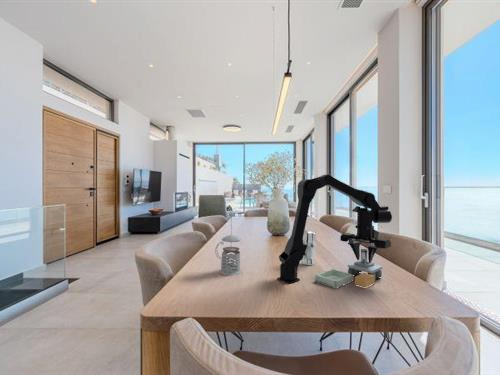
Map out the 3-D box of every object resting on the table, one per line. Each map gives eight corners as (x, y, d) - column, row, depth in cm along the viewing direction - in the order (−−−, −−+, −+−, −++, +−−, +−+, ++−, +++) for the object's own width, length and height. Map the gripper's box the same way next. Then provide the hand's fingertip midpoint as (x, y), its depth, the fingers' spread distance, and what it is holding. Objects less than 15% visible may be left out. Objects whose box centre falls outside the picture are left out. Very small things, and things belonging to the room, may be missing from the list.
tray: (336, 288, 97) (336, 281, 97) (315, 281, 104) (315, 274, 103) (353, 281, 104) (353, 274, 104) (332, 274, 111) (333, 268, 111)
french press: (239, 276, 109) (239, 214, 108) (211, 273, 111) (212, 213, 111) (244, 268, 118) (245, 212, 118) (219, 266, 120) (219, 211, 120)
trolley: (371, 283, 102) (371, 268, 102) (347, 276, 110) (347, 262, 110) (382, 277, 108) (382, 264, 108) (358, 271, 116) (358, 258, 116)
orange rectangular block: (365, 289, 97) (365, 279, 97) (354, 286, 100) (355, 276, 100) (374, 284, 101) (374, 275, 101) (364, 281, 104) (364, 272, 104)
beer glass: (298, 264, 126) (299, 232, 125) (303, 260, 132) (303, 230, 132) (313, 266, 122) (314, 233, 122) (317, 262, 129) (317, 231, 128)
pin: (365, 266, 108) (365, 250, 108) (359, 265, 110) (359, 249, 110) (368, 265, 110) (368, 249, 110) (362, 264, 111) (362, 248, 111)
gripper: (397, 224, 108) (396, 263, 108) (353, 219, 122) (352, 253, 122) (384, 226, 100) (384, 268, 101) (339, 221, 115) (339, 257, 115)
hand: (364, 261), depth 110 cm, fingers open, 5 cm apart
